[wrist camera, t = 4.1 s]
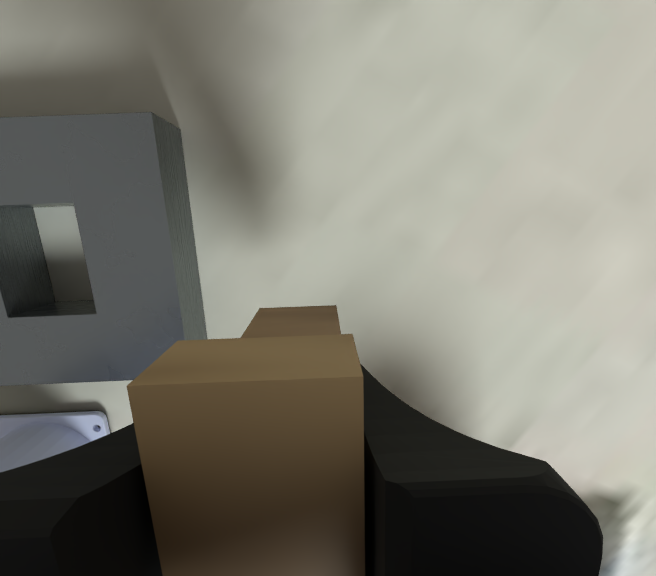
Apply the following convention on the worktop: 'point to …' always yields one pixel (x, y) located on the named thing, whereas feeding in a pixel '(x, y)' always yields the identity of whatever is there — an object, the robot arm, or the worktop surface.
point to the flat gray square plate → (96, 247)
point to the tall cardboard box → (256, 449)
